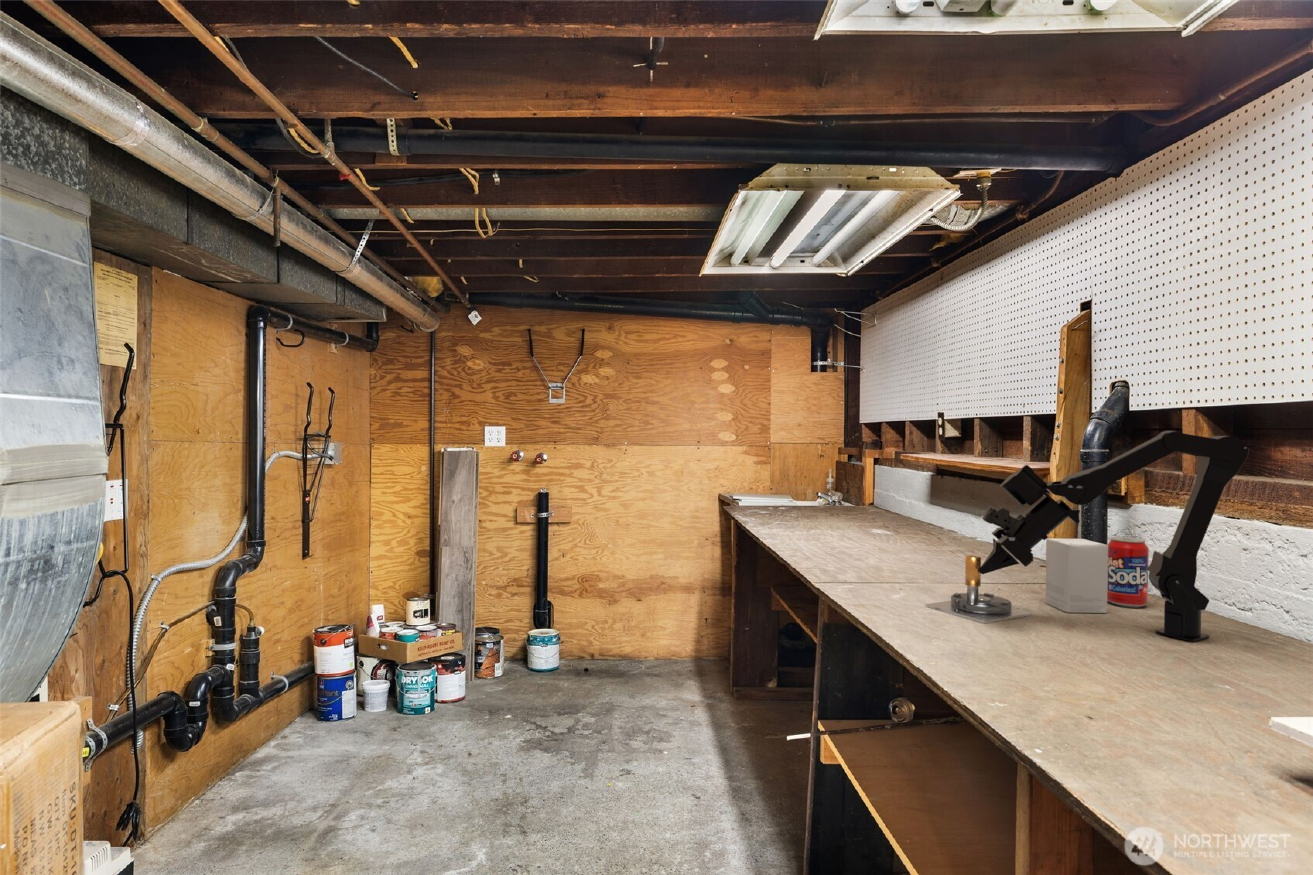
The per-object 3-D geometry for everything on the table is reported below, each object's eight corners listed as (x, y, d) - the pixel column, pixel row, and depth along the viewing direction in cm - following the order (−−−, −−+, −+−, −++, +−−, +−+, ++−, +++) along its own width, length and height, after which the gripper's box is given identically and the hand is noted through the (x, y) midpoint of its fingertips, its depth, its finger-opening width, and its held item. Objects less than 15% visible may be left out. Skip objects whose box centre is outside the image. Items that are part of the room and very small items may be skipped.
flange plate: (971, 599, 162) (971, 586, 162) (1031, 615, 149) (1032, 600, 149) (925, 606, 155) (925, 592, 155) (984, 623, 142) (984, 608, 142)
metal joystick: (1019, 607, 153) (1019, 554, 152) (1000, 618, 144) (1000, 561, 143) (962, 597, 161) (963, 547, 161) (941, 607, 152) (942, 554, 152)
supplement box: (1108, 614, 150) (1110, 544, 150) (1066, 613, 151) (1068, 544, 150) (1083, 603, 160) (1084, 538, 159) (1044, 602, 160) (1045, 537, 159)
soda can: (1141, 602, 161) (1143, 537, 161) (1152, 610, 154) (1153, 542, 154) (1102, 599, 164) (1103, 535, 164) (1110, 606, 157) (1111, 540, 156)
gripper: (1002, 490, 154) (948, 538, 158) (1014, 496, 137) (953, 550, 140) (1043, 528, 151) (987, 575, 155) (1060, 538, 134) (996, 592, 138)
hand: (980, 572), depth 147 cm, fingers closed, pressing on metal joystick
